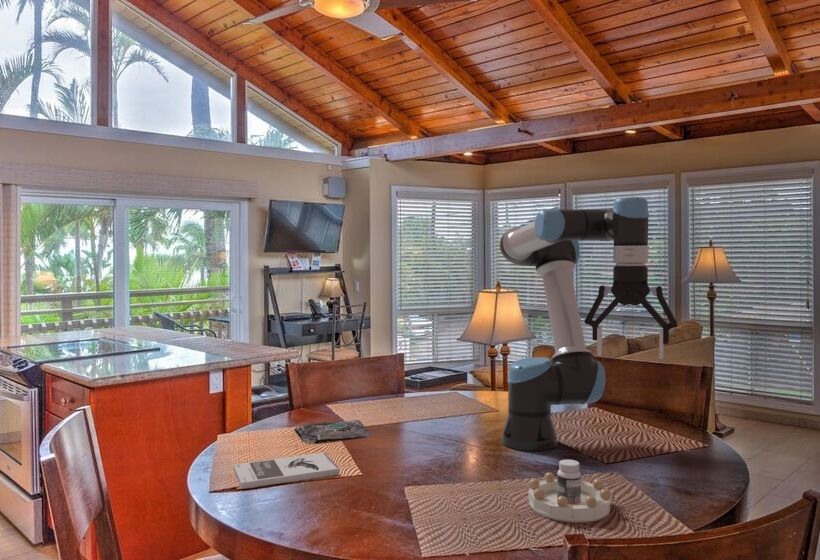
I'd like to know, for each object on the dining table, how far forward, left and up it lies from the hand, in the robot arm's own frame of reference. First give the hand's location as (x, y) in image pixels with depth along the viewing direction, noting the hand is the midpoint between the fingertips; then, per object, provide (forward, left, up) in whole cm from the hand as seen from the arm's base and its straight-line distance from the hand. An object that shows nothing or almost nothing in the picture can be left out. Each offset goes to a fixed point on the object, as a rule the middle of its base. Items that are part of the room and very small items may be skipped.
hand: (629, 356), depth 147 cm
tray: (-10, -22, -29) cm, 37 cm away
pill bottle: (-10, -22, -28) cm, 37 cm away
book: (-77, -28, -29) cm, 87 cm away
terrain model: (-83, +5, -30) cm, 89 cm away
